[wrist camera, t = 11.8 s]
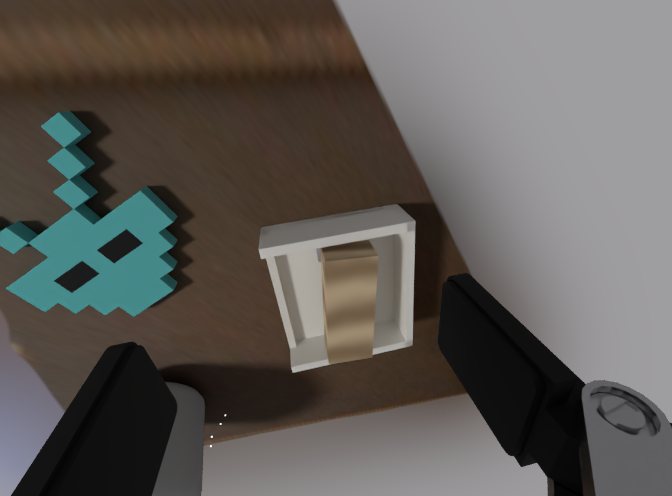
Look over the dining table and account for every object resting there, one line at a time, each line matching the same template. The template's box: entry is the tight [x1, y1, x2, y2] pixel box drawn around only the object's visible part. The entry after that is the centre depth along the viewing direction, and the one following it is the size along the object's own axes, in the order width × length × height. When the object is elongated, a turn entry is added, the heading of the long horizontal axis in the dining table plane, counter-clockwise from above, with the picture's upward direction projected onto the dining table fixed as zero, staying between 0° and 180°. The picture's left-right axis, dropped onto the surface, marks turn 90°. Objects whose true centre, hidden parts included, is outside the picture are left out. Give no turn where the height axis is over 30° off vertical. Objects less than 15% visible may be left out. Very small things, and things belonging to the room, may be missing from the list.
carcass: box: [259, 204, 415, 373], centre depth 40 cm, size 20×18×6 cm
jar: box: [152, 382, 226, 496], centre depth 38 cm, size 19×15×25 cm
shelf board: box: [320, 240, 379, 364], centre depth 38 cm, size 16×6×4 cm, turn 1°
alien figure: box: [0, 111, 178, 317], centre depth 34 cm, size 20×2×20 cm
